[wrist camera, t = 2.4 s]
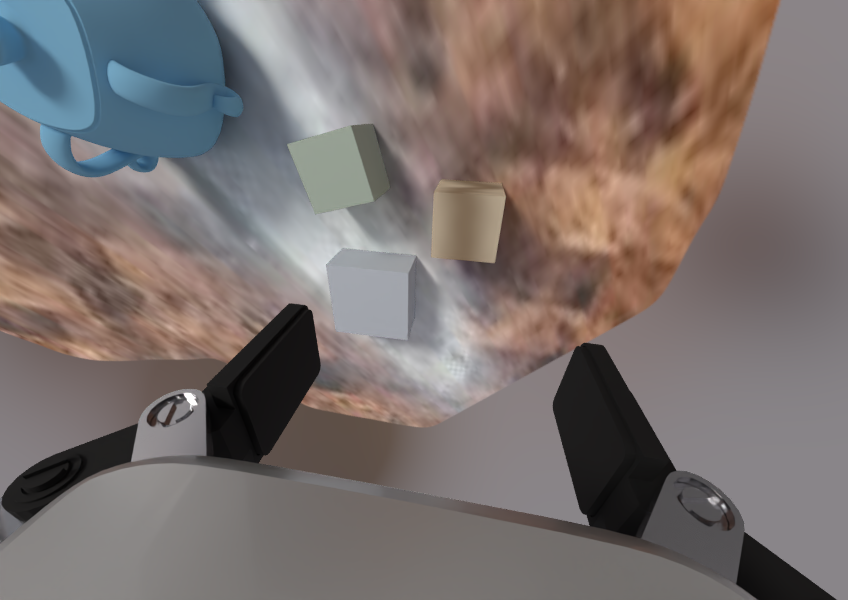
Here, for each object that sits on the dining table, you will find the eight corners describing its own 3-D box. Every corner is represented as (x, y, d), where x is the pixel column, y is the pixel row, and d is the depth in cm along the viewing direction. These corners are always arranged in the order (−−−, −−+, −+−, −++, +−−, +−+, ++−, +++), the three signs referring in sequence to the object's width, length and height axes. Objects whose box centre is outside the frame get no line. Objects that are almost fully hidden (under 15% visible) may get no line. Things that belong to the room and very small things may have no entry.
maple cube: (501, 182, 30) (505, 196, 25) (492, 240, 33) (494, 263, 28) (441, 179, 31) (434, 192, 26) (438, 236, 34) (431, 257, 29)
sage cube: (373, 123, 29) (350, 125, 24) (390, 187, 32) (374, 201, 27) (318, 139, 30) (286, 144, 25) (340, 199, 33) (315, 214, 28)
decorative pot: (165, 174, 35) (14, 205, 24) (43, -7, 28) (-266, -91, 16) (279, 128, 31) (160, 138, 19) (170, -104, 23) (-134, -317, 12)
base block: (416, 254, 36) (408, 273, 31) (414, 316, 40) (407, 340, 36) (343, 247, 37) (326, 264, 32) (350, 309, 41) (335, 331, 37)
